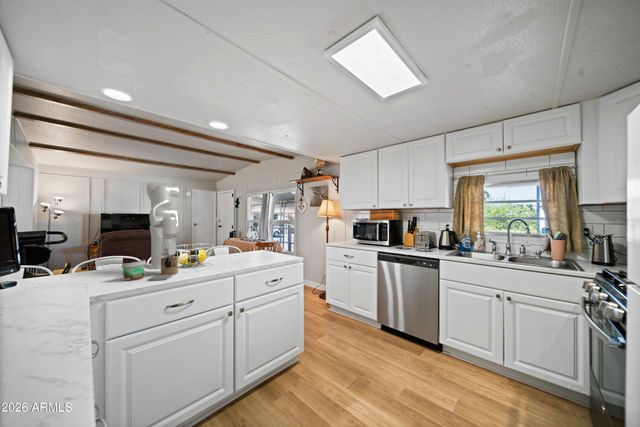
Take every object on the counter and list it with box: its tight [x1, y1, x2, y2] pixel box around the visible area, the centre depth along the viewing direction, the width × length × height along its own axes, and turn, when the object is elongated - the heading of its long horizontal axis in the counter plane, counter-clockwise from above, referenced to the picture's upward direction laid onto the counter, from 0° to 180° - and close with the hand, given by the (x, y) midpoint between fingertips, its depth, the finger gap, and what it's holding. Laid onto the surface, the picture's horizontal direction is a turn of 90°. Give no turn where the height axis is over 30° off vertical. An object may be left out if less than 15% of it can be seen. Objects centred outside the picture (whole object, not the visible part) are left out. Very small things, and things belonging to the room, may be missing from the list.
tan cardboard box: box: [160, 256, 179, 276], centre depth 143 cm, size 4×8×10 cm, turn 103°
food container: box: [121, 259, 147, 282], centre depth 131 cm, size 12×6×10 cm, turn 168°
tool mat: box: [146, 274, 173, 282], centre depth 133 cm, size 9×9×1 cm
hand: (169, 266), depth 143 cm, fingers closed on tan cardboard box, 3 cm apart
